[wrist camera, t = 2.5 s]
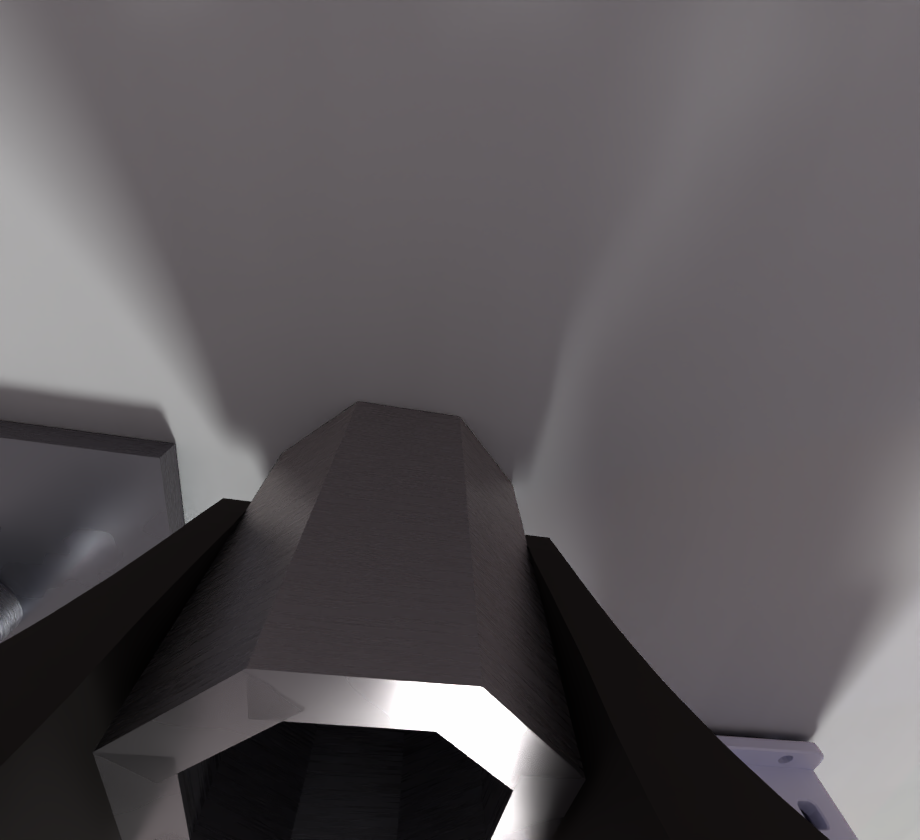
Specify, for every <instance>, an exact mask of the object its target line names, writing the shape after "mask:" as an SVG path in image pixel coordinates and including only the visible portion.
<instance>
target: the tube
mask: <svg viewBox="0 0 920 840" xmlns="http://www.w3.org/2000/svg"><path fill="white" fill-rule="evenodd" d="M93 755H94V758H95V761H96V764H97V767H98V770H99V773H100V776H101V779H102V782H103V785H104V788H105V791H106V794H107V797H108V800H109V803H110V806H111V809H112V812H113V815H114V818H115V821H116V824H117V827H118V830H119V833H120V836H121V839H122V840H551V838H552V836H553V834H554V833H555V831H556V829H557V828H558V826H559V824H560V823H561V821H562V819H563V817H564V816H565V814H566V812H567V811H568V809H569V807H570V806H571V804H572V802H573V800H574V799H575V797H576V795H577V794H578V792H579V790H580V789H581V787H582V785H583V784H584V782H585V780H586V779H585V775H584V770H583V766H582V762H581V758H580V754H579V750H578V746H577V742H576V738H575V734H574V730H573V726H572V722H571V718H570V714H569V710H568V706H567V702H566V698H565V694H564V690H563V686H562V682H561V678H560V674H559V670H558V666H557V662H556V658H555V654H554V650H553V646H552V642H551V638H550V634H549V630H548V626H547V622H546V618H545V614H544V610H543V605H542V601H541V597H540V593H539V589H538V585H537V581H536V577H535V573H534V570H533V566H532V563H531V559H530V554H529V550H528V546H527V541H526V537H525V533H524V529H523V525H522V521H521V517H520V513H519V509H518V505H517V501H516V497H515V493H514V489H513V485H512V484H511V482H510V481H509V480H508V478H507V477H506V476H505V474H504V473H503V472H502V471H501V469H500V468H499V467H498V465H497V464H496V463H495V462H494V460H493V459H492V458H491V456H490V455H489V454H488V453H487V451H486V450H485V449H484V447H483V446H482V445H481V443H480V442H479V441H478V440H477V438H476V437H475V436H474V434H473V433H472V432H471V431H470V429H469V428H468V427H467V425H466V424H465V423H464V422H463V420H462V419H461V418H460V417H457V416H450V415H444V414H437V413H431V412H424V411H417V410H411V409H404V408H397V407H391V406H384V405H377V404H371V403H364V402H356V403H355V404H354V405H352V406H351V407H349V408H348V409H346V410H345V411H343V412H342V413H340V414H339V415H338V416H336V417H335V418H333V419H332V420H330V421H329V422H327V423H326V424H324V425H323V426H321V427H320V428H319V429H317V430H316V431H314V432H313V433H311V434H310V435H308V436H307V437H305V438H304V439H303V440H301V441H300V442H298V443H297V444H295V445H294V446H292V447H291V448H289V449H288V450H286V451H285V452H284V453H282V454H281V456H280V457H279V459H278V460H277V462H276V464H275V465H274V467H273V468H272V470H271V471H270V473H269V475H268V476H267V478H266V479H265V481H264V482H263V484H262V486H261V487H260V489H259V490H258V492H257V494H256V495H255V497H254V498H253V500H252V501H251V503H250V505H249V506H248V508H247V509H246V511H245V513H244V515H243V516H242V518H241V519H240V521H239V522H238V524H237V526H236V527H235V529H234V530H233V532H232V533H231V535H230V536H229V538H228V539H227V541H226V543H225V544H224V546H223V547H222V549H221V550H220V552H219V554H218V555H217V557H216V558H215V560H214V561H213V563H212V565H211V566H210V568H209V569H208V571H207V573H206V574H205V576H204V577H203V579H202V580H201V582H200V584H199V585H198V587H197V588H196V590H195V591H194V593H193V595H192V596H191V598H190V599H189V601H188V603H187V604H186V606H185V607H184V609H183V610H182V612H181V614H180V615H179V617H178V618H177V620H176V621H175V623H174V625H173V626H172V628H171V629H170V631H169V633H168V634H167V636H166V637H165V639H164V640H163V642H162V644H161V645H160V647H159V648H158V650H157V652H156V653H155V655H154V656H153V658H152V659H151V661H150V663H149V664H148V666H147V667H146V669H145V670H144V672H143V674H142V675H141V677H140V678H139V680H138V682H137V683H136V685H135V686H134V688H133V689H132V691H131V693H130V694H129V696H128V697H127V699H126V700H125V702H124V704H123V705H122V707H121V708H120V710H119V712H118V713H117V715H116V716H115V718H114V719H113V721H112V723H111V724H110V726H109V727H108V729H107V730H106V732H105V734H104V735H103V737H102V738H101V740H100V742H99V743H98V745H97V746H96V748H95V749H94V751H93Z"/></svg>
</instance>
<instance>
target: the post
mask: <svg viewBox="0 0 920 840" xmlns="http://www.w3.org/2000/svg"><path fill="white" fill-rule="evenodd" d="M184 525H185V524H184V516H183V507H182V499H181V490H180V482H179V474H178V465H177V457H176V448H175V444H172V443H164V442H157V441H149V440H142V439H134V438H127V437H119V436H112V435H104V434H97V433H89V432H82V431H74V430H67V429H59V428H52V427H44V426H36V425H29V424H21V423H14V422H6V421H0V643H2V642H4V641H5V640H7V639H9V638H11V637H12V636H14V635H16V634H18V633H19V632H21V631H23V630H24V629H26V628H28V627H30V626H31V625H33V624H35V623H36V622H38V621H40V620H42V619H43V618H45V617H47V616H48V615H50V614H52V613H53V612H55V611H56V610H58V609H59V608H61V607H63V606H64V605H66V604H67V603H69V602H71V601H72V600H74V599H75V598H77V597H78V596H80V595H82V594H83V593H85V592H86V591H88V590H90V589H91V588H93V587H94V586H96V585H97V584H99V583H101V582H102V581H104V580H105V579H107V578H108V577H110V576H111V575H113V574H115V573H116V572H118V571H119V570H120V569H122V568H123V567H125V566H126V565H128V564H129V563H131V562H132V561H134V560H135V559H137V558H138V557H140V556H141V555H143V554H144V553H145V552H147V551H148V550H150V549H151V548H153V547H154V546H156V545H157V544H159V543H160V542H161V541H163V540H164V539H166V538H167V537H169V536H170V535H171V534H173V533H174V532H176V531H177V530H178V529H180V528H181V527H183V526H184Z"/></svg>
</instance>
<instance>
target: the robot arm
mask: <svg viewBox="0 0 920 840" xmlns="http://www.w3.org/2000/svg"><path fill="white" fill-rule="evenodd" d="M250 503H251V502H250V501H241V500H233V499H225V498H223V499H221V500H220V501H219V502H217V503H216V504H214V505H213V506H211V507H210V508H208V509H207V510H205V511H204V512H202V513H201V514H200V515H198V516H197V517H195V518H194V519H193V520H191V521H190V522H188V523H187V524H186V525H184V526H183V527H181V528H180V529H178V530H177V531H176V532H174V533H173V534H171V535H170V536H169V537H167V538H166V539H164V540H163V541H161V542H160V543H159V544H157V545H156V546H154V547H153V548H151V549H150V550H148V551H147V552H145V553H144V554H143V555H141V556H140V557H138V558H137V559H135V560H134V561H132V562H131V563H129V564H128V565H126V566H125V567H123V568H122V569H120V570H119V571H118V572H116V573H115V574H113V575H111V576H110V577H108V578H107V579H105V580H104V581H102V582H101V583H99V584H97V585H96V586H94V587H93V588H91V589H90V590H88V591H86V592H85V593H83V594H82V595H80V596H78V597H77V598H75V599H74V600H72V601H71V602H69V603H67V604H66V605H64V606H63V607H61V608H59V609H58V610H56V611H55V612H53V613H52V614H50V615H48V616H47V617H45V618H43V619H42V620H40V621H38V622H36V623H35V624H33V625H31V626H30V627H28V628H26V629H24V630H23V631H21V632H19V633H18V634H16V635H14V636H12V637H11V638H9V639H7V640H5V641H4V642H2V643H0V840H122V839H121V836H120V833H119V830H118V827H117V824H116V821H115V818H114V815H113V812H112V809H111V806H110V803H109V800H108V797H107V794H106V791H105V788H104V785H103V782H102V779H101V776H100V773H99V770H98V767H97V764H96V761H95V758H94V755H93V751H94V749H95V748H96V746H97V745H98V743H99V742H100V740H101V738H102V737H103V735H104V734H105V732H106V730H107V729H108V727H109V726H110V724H111V723H112V721H113V719H114V718H115V716H116V715H117V713H118V712H119V710H120V708H121V707H122V705H123V704H124V702H125V700H126V699H127V697H128V696H129V694H130V693H131V691H132V689H133V688H134V686H135V685H136V683H137V682H138V680H139V678H140V677H141V675H142V674H143V672H144V670H145V669H146V667H147V666H148V664H149V663H150V661H151V659H152V658H153V656H154V655H155V653H156V652H157V650H158V648H159V647H160V645H161V644H162V642H163V640H164V639H165V637H166V636H167V634H168V633H169V631H170V629H171V628H172V626H173V625H174V623H175V621H176V620H177V618H178V617H179V615H180V614H181V612H182V610H183V609H184V607H185V606H186V604H187V603H188V601H189V599H190V598H191V596H192V595H193V593H194V591H195V590H196V588H197V587H198V585H199V584H200V582H201V580H202V579H203V577H204V576H205V574H206V573H207V571H208V569H209V568H210V566H211V565H212V563H213V561H214V560H215V558H216V557H217V555H218V554H219V552H220V550H221V549H222V547H223V546H224V544H225V543H226V541H227V539H228V538H229V536H230V535H231V533H232V532H233V530H234V529H235V527H236V526H237V524H238V522H239V521H240V519H241V518H242V516H243V515H244V513H245V511H246V509H247V508H248V506H249V505H250ZM525 537H526V541H527V546H528V550H529V554H530V559H531V563H532V566H533V570H534V573H535V577H536V581H537V585H538V589H539V593H540V597H541V601H542V605H543V610H544V614H545V618H546V622H547V626H548V630H549V634H550V638H551V642H552V646H553V650H554V654H555V658H556V662H557V666H558V670H559V674H560V678H561V682H562V686H563V690H564V694H565V698H566V702H567V706H568V710H569V714H570V718H571V722H572V726H573V730H574V734H575V738H576V742H577V746H578V750H579V754H580V758H581V762H582V766H583V770H584V775H585V779H586V780H585V782H584V784H583V785H582V787H581V789H580V790H579V792H578V794H577V795H576V797H575V799H574V800H573V802H572V804H571V806H570V807H569V809H568V811H567V812H566V814H565V816H564V817H563V819H562V821H561V823H560V824H559V826H558V828H557V829H556V831H555V833H554V834H553V836H552V838H551V840H858V838H857V837H856V835H855V834H854V832H853V831H852V829H851V828H850V826H849V825H848V823H847V822H846V820H845V818H844V817H843V815H842V814H841V812H840V811H839V809H838V808H837V806H836V805H835V803H834V802H833V800H832V798H831V797H830V795H829V794H828V792H827V791H826V789H825V788H824V786H823V785H822V783H821V782H820V780H819V779H818V777H817V775H816V774H815V772H814V771H813V770H814V769H815V768H816V767H817V766H818V765H819V764H820V763H821V762H822V760H823V758H824V755H823V753H822V752H821V750H820V749H819V748H818V746H817V745H816V744H815V743H812V742H804V741H790V740H776V739H762V738H747V737H733V736H719V735H715V734H714V733H713V732H712V731H711V730H710V729H709V728H708V727H707V726H706V725H705V724H704V723H703V722H702V721H701V720H700V719H699V718H698V717H697V716H696V715H695V714H694V713H693V712H692V711H691V710H690V709H689V708H688V707H687V706H686V705H685V704H684V703H683V702H682V701H681V700H680V699H679V697H678V696H677V695H676V694H675V693H674V692H673V691H672V690H671V689H670V688H669V687H668V686H667V685H666V684H665V682H664V681H663V680H662V679H661V678H660V677H659V676H658V675H657V674H656V672H655V671H654V670H653V669H652V668H651V667H650V666H649V664H648V663H647V662H646V661H645V660H644V659H643V657H642V656H641V655H640V654H639V653H638V652H637V651H636V649H635V648H634V647H633V646H632V645H631V644H630V642H629V641H628V640H627V639H626V638H625V636H624V635H623V634H622V633H621V631H620V630H619V629H618V628H617V627H616V625H615V624H614V623H613V622H612V620H611V619H610V618H609V617H608V615H607V614H606V613H605V611H604V610H603V609H602V608H601V606H600V605H599V604H598V603H597V601H596V600H595V599H594V597H593V596H592V595H591V593H590V592H589V591H588V589H587V588H586V587H585V585H584V584H583V583H582V581H581V580H580V579H579V577H578V576H577V575H576V573H575V572H574V571H573V569H572V568H571V567H570V565H569V564H568V562H567V561H566V560H565V558H564V557H563V556H562V554H561V553H560V552H559V550H558V549H557V547H556V546H555V545H554V543H553V542H552V541H551V540H550V538H547V537H539V536H530V535H525Z"/></svg>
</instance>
